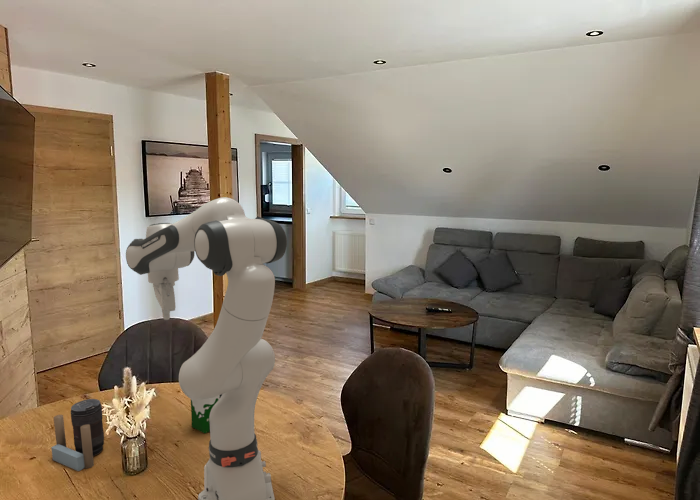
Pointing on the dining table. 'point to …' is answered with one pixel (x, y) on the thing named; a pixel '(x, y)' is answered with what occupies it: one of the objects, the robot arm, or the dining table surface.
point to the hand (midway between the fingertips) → (166, 318)
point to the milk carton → (202, 413)
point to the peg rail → (68, 455)
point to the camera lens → (91, 415)
